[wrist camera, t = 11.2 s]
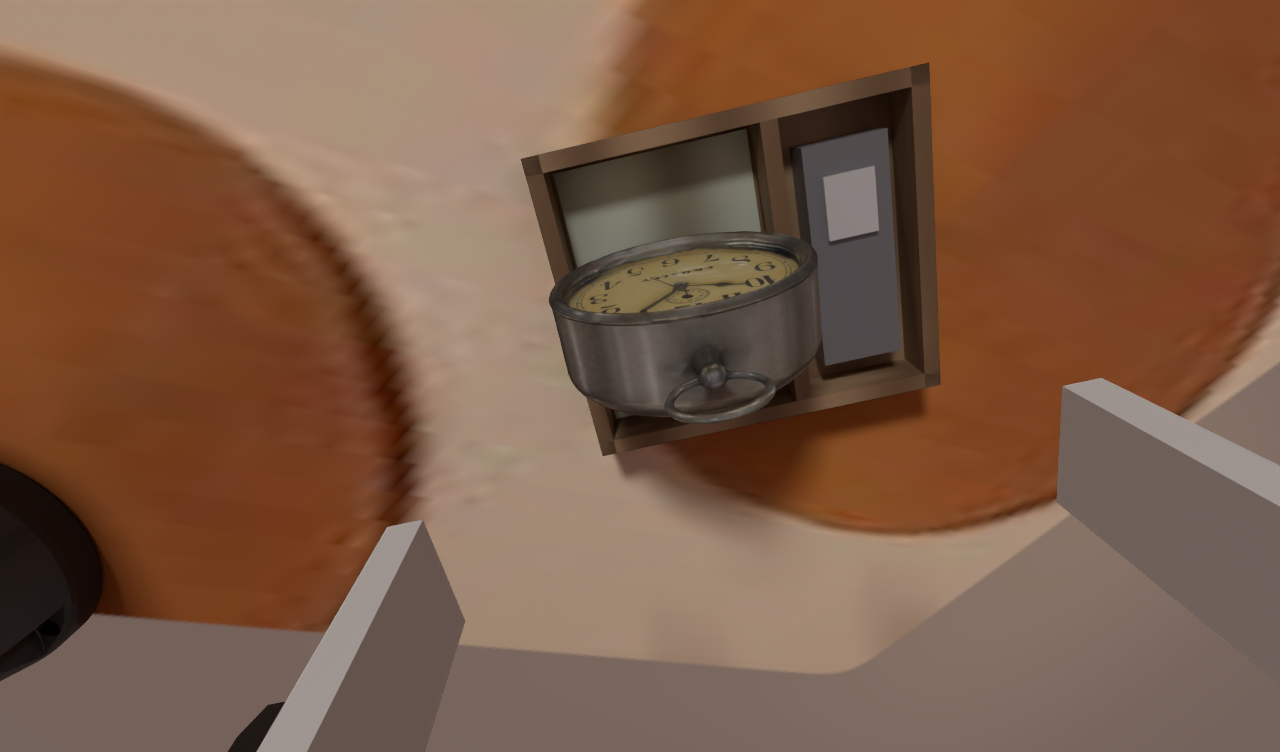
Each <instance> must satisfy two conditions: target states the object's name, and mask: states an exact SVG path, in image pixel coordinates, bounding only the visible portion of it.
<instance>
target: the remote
mask: <svg viewBox="0 0 1280 752" xmlns="http://www.w3.org/2000/svg"><path fill="white" fill-rule="evenodd" d="M790 156H791V164H792V172H793V181H794V189H795V198H796V206H797V215H798V223H799V232H800V239H801V240H803V241H805V242H806V243H808V244H810V245H811V246H812V247H813V248H814V249H815V251H816V252H817V256H818V280H819V296H820V313H821V343H820V346H819V349H818V351H817V353H816V354H815V355H816V356H817V357H818V358H819V359H820V361H821V362H822V363H823V364H824V365H825V366H827V365H832V364H836V363H841V362H846V361H850V360H855V359H860V358H864V357H869V356H874V355H878V354H883V353H888V352H892V351H897V350H901V343H900V327H899V310H898V293H897V277H896V260H895V244H894V227H893V210H892V194H891V177H890V160H889V144H888V128H872V129H866V130H862V131H858V132H854V133H849V134H845V135H841V136H836V137H832V138H828V139H823V140H819V141H815V142H810V143H806V144H802V145H798V146H793V147H790Z"/></svg>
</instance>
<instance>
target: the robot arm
mask: <svg viewBox="0 0 1280 752" xmlns="http://www.w3.org/2000/svg"><path fill="white" fill-rule="evenodd" d="M1057 503H1058V504H1060V505H1061V506H1062V507H1063V508H1064V509H1066V510H1067V511H1068V512H1069V513H1071V514H1072V515H1073V516H1074V517H1075V518H1077V519H1078V520H1079V521H1080V522H1081V523H1083V524H1084V525H1085V526H1086V527H1088V528H1089V529H1090V530H1091V531H1093V532H1094V533H1095V534H1096V535H1097V536H1099V537H1100V538H1101V539H1102V540H1103V541H1105V542H1106V543H1107V544H1108V545H1109V546H1111V547H1112V548H1113V549H1114V550H1115V551H1117V552H1118V553H1119V554H1120V555H1122V556H1123V557H1124V558H1125V559H1126V560H1128V561H1129V562H1130V563H1131V564H1133V565H1134V566H1135V567H1136V568H1137V569H1139V570H1140V571H1141V572H1142V573H1143V574H1145V575H1146V576H1147V577H1149V578H1150V579H1151V580H1152V581H1153V582H1155V583H1156V584H1157V585H1158V586H1159V587H1160V588H1162V589H1163V590H1164V591H1165V592H1167V593H1168V594H1169V595H1170V596H1172V597H1173V598H1174V599H1175V600H1176V601H1177V602H1179V603H1180V604H1181V605H1182V606H1184V607H1185V608H1186V609H1187V610H1189V611H1190V612H1191V613H1192V614H1193V615H1194V616H1196V617H1197V618H1198V619H1199V620H1201V621H1202V622H1203V623H1204V624H1205V625H1207V626H1208V627H1209V628H1210V629H1212V630H1213V631H1214V632H1215V633H1216V634H1218V635H1219V636H1220V637H1221V638H1222V639H1224V640H1225V641H1226V642H1227V643H1229V644H1230V645H1231V646H1232V647H1233V648H1235V649H1236V650H1237V651H1238V652H1239V653H1241V654H1242V655H1243V656H1244V657H1246V658H1247V659H1248V660H1249V661H1251V662H1252V663H1253V664H1254V665H1255V666H1256V667H1258V668H1259V669H1260V670H1261V671H1263V672H1264V673H1265V674H1266V675H1267V676H1269V677H1270V678H1271V679H1272V680H1274V681H1275V682H1276V683H1277V684H1279V685H1280V466H1279V465H1277V464H1275V463H1273V462H1271V461H1269V460H1267V459H1265V458H1263V457H1261V456H1259V455H1257V454H1255V453H1253V452H1251V451H1249V450H1247V449H1245V448H1243V447H1241V446H1239V445H1237V444H1235V443H1232V442H1230V441H1228V440H1226V439H1224V438H1222V437H1220V436H1218V435H1216V434H1214V433H1212V432H1210V431H1208V430H1206V429H1204V428H1202V427H1200V426H1198V425H1196V424H1194V423H1192V422H1190V421H1188V420H1186V419H1184V418H1182V417H1180V416H1178V415H1176V414H1174V413H1172V412H1170V411H1168V410H1166V409H1164V408H1161V407H1159V406H1157V405H1155V404H1153V403H1151V402H1149V401H1147V400H1145V399H1143V398H1141V397H1139V396H1137V395H1135V394H1133V393H1131V392H1129V391H1127V390H1125V389H1123V388H1121V387H1119V386H1117V385H1115V384H1113V383H1111V382H1109V381H1107V380H1105V379H1103V378H1100V379H1095V380H1090V381H1085V382H1080V383H1076V384H1071V385H1066V386H1063V389H1062V408H1061V427H1060V446H1059V466H1058V485H1057ZM101 587H102V575H101V568H100V564H99V560H98V557H97V554H96V551H95V549H94V547H93V545H92V543H91V541H90V539H89V537H88V536H87V534H86V532H85V531H84V529H83V528H82V527H81V525H80V524H79V523H78V521H77V520H76V519H75V518H74V516H73V515H72V514H71V513H70V512H69V511H68V510H67V509H66V508H65V507H64V506H63V505H62V504H61V503H60V502H59V501H58V500H57V499H55V498H54V497H53V496H52V495H51V494H49V493H48V492H47V491H46V490H44V489H43V488H42V487H40V486H39V485H37V484H36V483H34V482H33V481H31V480H30V479H28V478H26V477H25V476H23V475H21V474H19V473H18V472H16V471H14V470H12V469H10V468H8V467H6V466H4V465H1V464H0V681H1V680H3V679H5V678H7V677H9V676H11V675H13V674H15V673H17V672H19V671H21V670H22V669H24V668H26V667H28V666H30V665H32V664H34V663H36V662H38V661H39V660H41V659H43V658H44V657H46V656H47V655H49V654H50V653H51V652H53V651H54V650H55V649H57V648H58V647H59V646H60V645H61V644H62V643H63V642H65V641H66V640H67V639H68V638H69V637H70V636H71V635H72V634H73V633H74V632H75V631H77V630H78V629H79V628H80V627H81V626H82V625H83V624H84V623H85V622H86V621H87V620H88V619H89V618H90V616H91V615H92V613H93V612H94V610H95V608H96V606H97V604H98V601H99V598H100V594H101ZM464 623H465V619H464V617H463V614H462V612H461V610H460V607H459V605H458V603H457V600H456V598H455V595H454V593H453V591H452V588H451V586H450V583H449V581H448V579H447V576H446V574H445V571H444V569H443V567H442V564H441V562H440V559H439V557H438V555H437V552H436V550H435V548H434V545H433V543H432V540H431V538H430V536H429V533H428V531H427V528H426V526H425V524H424V521H423V520H419V521H414V522H409V523H405V524H400V525H395V526H390V527H387V528H386V530H385V532H384V533H383V535H382V537H381V539H380V540H379V542H378V544H377V546H376V547H375V549H374V551H373V552H372V554H371V556H370V558H369V559H368V561H367V563H366V564H365V566H364V568H363V570H362V571H361V573H360V575H359V576H358V578H357V580H356V582H355V583H354V585H353V587H352V589H351V590H350V592H349V594H348V595H347V597H346V599H345V601H344V602H343V604H342V606H341V607H340V609H339V611H338V613H337V614H336V616H335V618H334V619H333V621H332V623H331V625H330V626H329V628H328V630H327V632H326V633H325V635H324V637H323V638H322V640H321V642H320V644H319V645H318V647H317V649H316V650H315V652H314V654H313V656H312V658H311V659H310V661H309V663H308V664H307V666H306V668H305V669H304V671H303V673H302V675H301V676H300V678H299V680H298V681H297V683H296V685H295V687H294V688H293V690H292V692H291V693H290V695H289V697H288V699H287V700H286V702H281V703H276V704H271V705H268V706H266V708H265V709H264V710H263V711H262V712H261V713H260V714H259V715H258V716H257V717H256V718H255V719H254V720H253V721H252V722H251V723H250V724H249V725H248V726H247V727H246V728H245V729H244V730H243V732H241V734H240V735H239V736H238V737H237V738H236V740H235V741H234V743H233V745H232V746H231V747H230V749H229V751H228V752H425V750H426V747H427V743H428V740H429V737H430V734H431V731H432V727H433V724H434V721H435V718H436V714H437V711H438V708H439V704H440V701H441V698H442V694H443V692H444V688H445V685H446V682H447V678H448V675H449V672H450V669H451V665H452V662H453V659H454V656H455V652H456V649H457V646H458V643H459V639H460V636H461V633H462V630H463V626H464Z"/></svg>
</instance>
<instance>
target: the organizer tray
mask: <svg viewBox="0 0 1280 752" xmlns="http://www.w3.org/2000/svg"><path fill="white" fill-rule="evenodd" d="M872 128H888V144H889V160H890V177H891V194H892V210H893V227H894V244H895V260H896V277H897V293H898V310H899V327H900V343H901V350H897V351H892V352H888V353H883V354H878V355H874V356H869V357H864V358H860V359H855V360H850V361H846V362H841V363H836V364H832V365H827V366H825V365H824V364H823V363H822V362H821V361H820V359H819V358H818V357H817V356H816V355H815V356H814V358H813V360H812V361H811V362H810V364H809V365H808V366H807V368H806V369H805V370H804V371H803V372H802V373H801V374H800V375H798V376H797V377H796V378H795V379H793V380H792V381H791V382H789V383H788V384H787V385H785V386H783V387H782V388H780V389H778V390H777V391H776V393H775V395H774V396H773V398H772V399H771V400H770V401H769V402H768V404H766V405H765V406H763V407H762V408H760V409H758V410H756V411H754V412H752V413H750V414H747V415H745V416H742V417H739V418H736V419H733V420H729V421H724V422H720V423H714V424H700V425H694V424H688V423H683V422H680V421H678V420H675V419H673V418H672V417H656V416H640V415H633V414H628V413H624V412H620V411H616V410H613V409H610V408H607V407H604V406H602V405H600V404H598V403H596V402H594V401H592V400H590V399H589V398H587V401H588V404H589V408H590V411H591V415H592V419H593V422H594V426H595V430H596V433H597V437H598V440H599V444H600V448H601V451H602V455H603V456H606V455H610V454H615V453H620V452H624V451H629V450H634V449H639V448H643V447H648V446H653V445H658V444H662V443H667V442H672V441H677V440H681V439H686V438H691V437H696V436H700V435H705V434H710V433H714V432H719V431H724V430H729V429H733V428H738V427H743V426H748V425H752V424H757V423H762V422H767V421H771V420H776V419H781V418H786V417H790V416H795V415H800V414H804V413H809V412H814V411H819V410H823V409H828V408H833V407H838V406H842V405H847V404H852V403H857V402H861V401H866V400H871V399H875V398H880V397H885V396H890V395H894V394H899V393H904V392H909V391H913V390H918V389H923V388H928V387H932V386H937V385H940V359H939V331H938V302H937V274H936V245H935V216H934V188H933V159H932V130H931V102H930V73H929V63H925V64H921V65H917V66H912V67H908V68H904V69H900V70H896V71H891V72H887V73H883V74H879V75H874V76H870V77H866V78H862V79H857V80H853V81H849V82H845V83H841V84H836V85H832V86H828V87H824V88H819V89H815V90H811V91H807V92H802V93H798V94H794V95H790V96H785V97H781V98H777V99H773V100H769V101H764V102H760V103H756V104H752V105H747V106H743V107H739V108H735V109H730V110H726V111H722V112H718V113H714V114H709V115H705V116H701V117H697V118H692V119H688V120H684V121H680V122H675V123H671V124H667V125H663V126H658V127H654V128H650V129H646V130H642V131H637V132H633V133H629V134H625V135H620V136H616V137H612V138H608V139H603V140H599V141H595V142H591V143H587V144H582V145H578V146H574V147H570V148H565V149H561V150H557V151H553V152H548V153H544V154H540V155H536V156H531V157H527V158H523V159H521V161H522V165H523V169H524V172H525V176H526V179H527V183H528V187H529V190H530V194H531V198H532V201H533V205H534V208H535V212H536V216H537V219H538V223H539V227H540V230H541V234H542V237H543V241H544V245H545V248H546V252H547V256H548V259H549V263H550V266H551V270H552V274H553V277H554V281H555V285H556V284H557V282H558V281H559V280H560V279H562V278H563V277H564V276H565V275H567V274H568V273H569V272H571V271H573V270H574V269H576V268H578V267H580V266H582V265H584V264H586V263H588V262H591V261H594V260H596V259H599V258H601V257H603V256H607V255H609V254H611V253H615V252H618V251H621V250H625V249H628V248H631V247H634V246H639V245H642V244H646V243H651V242H655V241H660V240H666V239H670V238H676V237H682V236H688V235H696V234H705V233H717V232H737V231H753V232H768V233H777V234H784V235H788V236H792V237H795V238H798V239H800V232H799V223H798V215H797V206H796V198H795V189H794V181H793V172H792V164H791V156H790V147H793V146H798V145H802V144H806V143H810V142H815V141H819V140H823V139H828V138H832V137H836V136H841V135H845V134H849V133H854V132H858V131H862V130H866V129H872ZM749 403H750V402H749ZM746 404H748V403H746ZM743 405H745V404H743ZM740 406H742V405H740ZM737 407H739V406H737ZM734 408H736V407H734ZM730 409H733V408H730ZM730 409H726V410H730ZM726 410H722V411H717V412H712V413H720V412H723V411H726ZM705 414H710V413H705Z"/></svg>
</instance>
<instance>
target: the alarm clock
mask: <svg viewBox="0 0 1280 752" xmlns="http://www.w3.org/2000/svg"><path fill="white" fill-rule="evenodd" d="M549 303H550V306H551V308H552V311H553V314H554V318H555V322H556V326H557V330H558V334H559V337H560V341H561V346H562V350H563V354H564V358H565V362H566V366H567V370H568V374H569V376H570V379H571V381H572V382H573V384H574V385H575V387H576V388H577V389H578V390H579V391H580V392H581V393H582V394H583V395H584V396H586V397H587V398H589V399H590V400H592V401H594V402H596V403H598V404H600V405H602V406H604V407H607V408H610V409H613V410H616V411H620V412H624V413H628V414H633V415H640V416H656V417H672V418H673V419H675V420H678V421H680V422H683V423H688V424H694V425H700V424H714V423H720V422H724V421H729V420H733V419H736V418H739V417H742V416H745V415H747V414H750V413H752V412H754V411H756V410H758V409H760V408H762V407H763V406H765V405H766V404H768V402H769V401H770V400H771V399H772V398H773V396H774V395H775V393H776V391H777V390H778V389H780V388H782V387H783V386H785V385H787V384H788V383H789V382H791V381H792V380H793V379H795V378H796V377H797V376H798V375H800V374H801V373H802V372H803V371H804V370H805V369H806V368H807V366H808V365H809V364H810V362H811V361H812V360H813V358H814V356H815V354H816V353H817V351H818V349H819V346H820V343H821V313H820V296H819V280H818V256H817V252H816V251H815V249H814V248H813V247H812V246H811V245H810V244H808V243H806V242H805V241H803V240H801V239H798V238H795V237H792V236H788V235H784V234H777V233H768V232H753V231H737V232H717V233H705V234H696V235H688V236H682V237H676V238H670V239H666V240H660V241H655V242H651V243H646V244H642V245H639V246H634V247H631V248H628V249H625V250H621V251H618V252H615V253H611V254H609V255H607V256H603V257H601V258H599V259H596V260H594V261H591V262H588V263H586V264H584V265H582V266H580V267H578V268H576V269H574V270H573V271H571V272H569V273H568V274H567V275H565V276H564V277H563V278H562V279H560V280H559V281H558V282H557V284H556V285H555V286H554V288H553V289H552V291H551V293H550V297H549ZM749 402H750V403H749ZM746 403H748V404H746ZM743 404H745V405H743ZM740 405H742V406H740ZM737 406H739V407H737ZM734 407H736V408H734ZM730 408H733V409H730ZM726 409H730V410H726ZM722 410H726V411H723V412H720V413H712V412H717V411H722ZM705 413H710V414H705Z"/></svg>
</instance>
